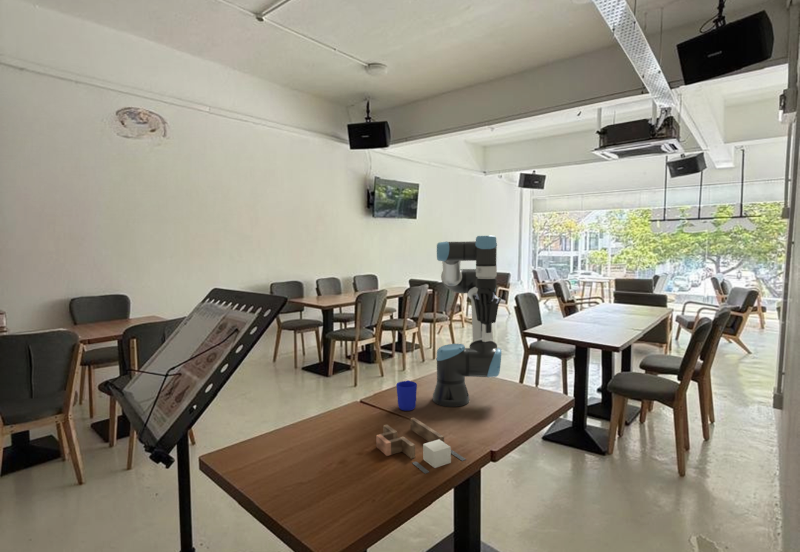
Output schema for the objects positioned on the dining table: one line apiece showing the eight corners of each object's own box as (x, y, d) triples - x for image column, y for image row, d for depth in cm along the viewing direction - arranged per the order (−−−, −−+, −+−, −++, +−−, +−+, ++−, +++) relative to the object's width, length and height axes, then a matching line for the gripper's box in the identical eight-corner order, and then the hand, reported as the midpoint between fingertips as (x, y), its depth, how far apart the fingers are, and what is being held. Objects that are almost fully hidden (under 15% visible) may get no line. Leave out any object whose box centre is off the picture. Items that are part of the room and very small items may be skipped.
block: (423, 459, 132) (423, 444, 131) (439, 454, 135) (439, 439, 134) (434, 468, 127) (434, 452, 126) (450, 463, 130) (450, 446, 129)
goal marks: (412, 463, 129) (412, 462, 129) (452, 450, 137) (452, 449, 137) (425, 473, 123) (425, 473, 123) (466, 459, 131) (466, 459, 131)
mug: (418, 401, 180) (418, 378, 180) (416, 412, 168) (416, 387, 168) (398, 401, 181) (398, 377, 180) (395, 412, 169) (395, 387, 168)
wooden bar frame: (369, 440, 145) (368, 429, 145) (414, 428, 154) (414, 417, 154) (395, 463, 129) (395, 450, 129) (444, 448, 138) (444, 436, 138)
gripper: (466, 277, 162) (467, 339, 164) (490, 279, 151) (490, 345, 152) (482, 276, 166) (482, 336, 167) (506, 278, 154) (506, 343, 156)
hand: (486, 340), depth 160 cm, fingers closed
